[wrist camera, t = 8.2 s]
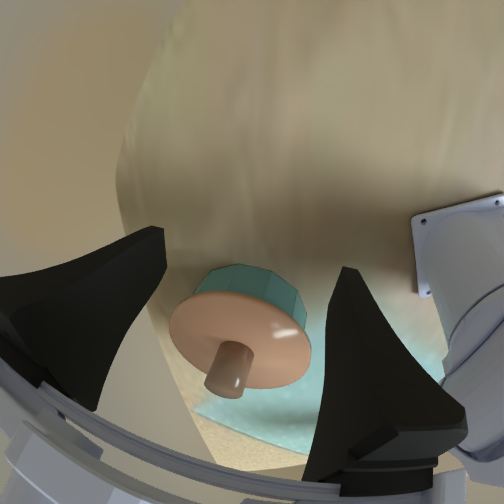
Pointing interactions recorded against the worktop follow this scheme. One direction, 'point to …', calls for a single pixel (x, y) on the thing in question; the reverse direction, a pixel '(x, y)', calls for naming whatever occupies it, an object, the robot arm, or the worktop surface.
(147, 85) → the worktop surface
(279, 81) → the worktop surface
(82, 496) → the robot arm
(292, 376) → the lid
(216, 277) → the bowl
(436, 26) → the worktop surface
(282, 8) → the worktop surface
